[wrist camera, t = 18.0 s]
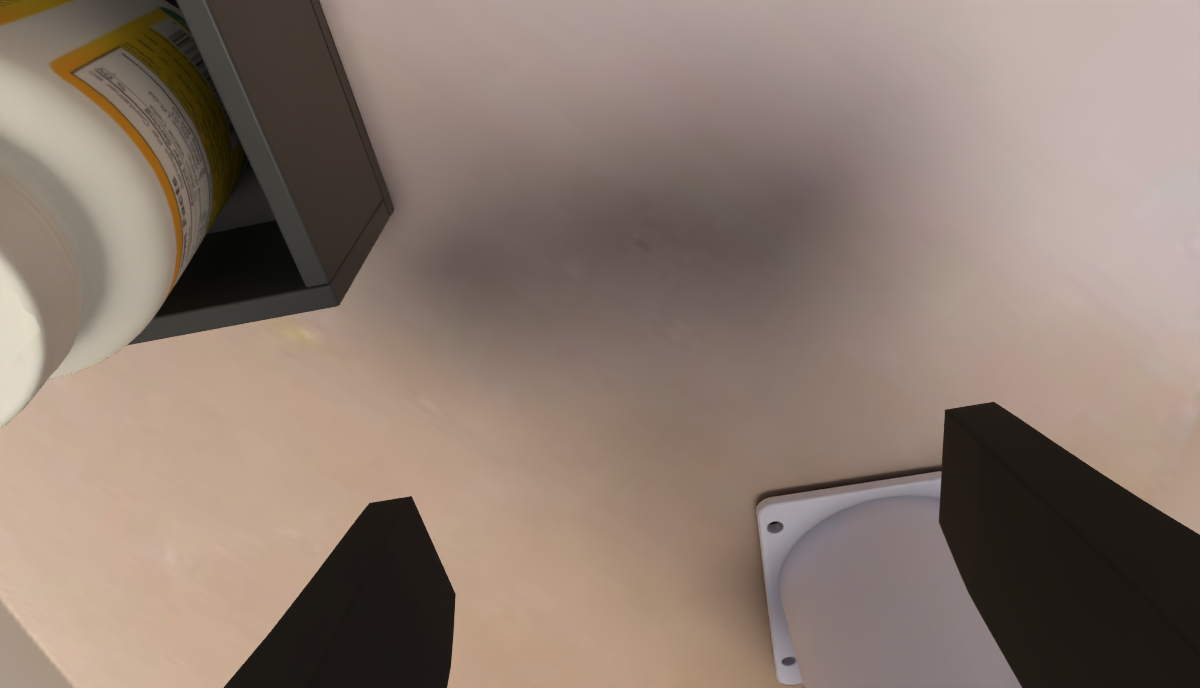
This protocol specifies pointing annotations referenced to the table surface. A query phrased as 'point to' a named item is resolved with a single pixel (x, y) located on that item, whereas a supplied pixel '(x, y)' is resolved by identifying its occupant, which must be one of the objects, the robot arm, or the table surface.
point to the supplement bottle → (99, 178)
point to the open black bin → (278, 172)
